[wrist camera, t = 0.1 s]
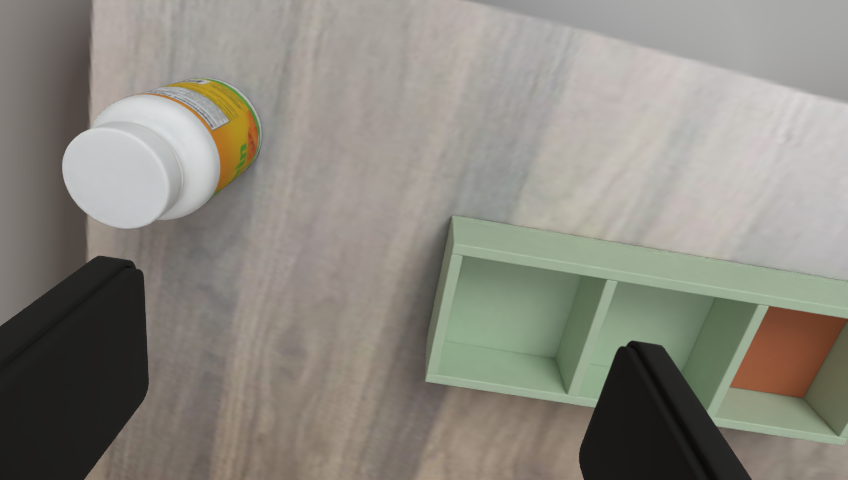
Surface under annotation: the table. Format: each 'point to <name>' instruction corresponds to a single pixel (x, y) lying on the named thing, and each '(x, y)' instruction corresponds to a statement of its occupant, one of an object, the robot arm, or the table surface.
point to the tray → (639, 326)
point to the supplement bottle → (162, 152)
